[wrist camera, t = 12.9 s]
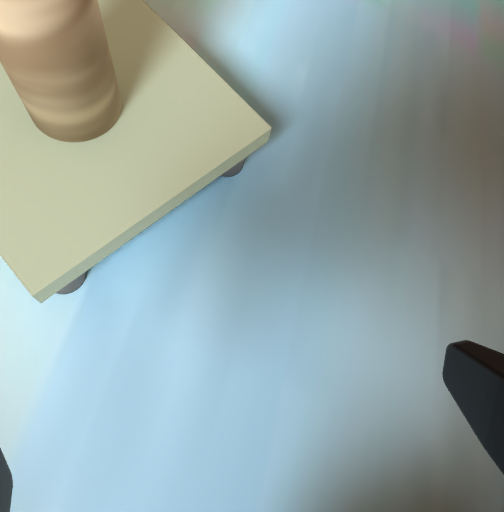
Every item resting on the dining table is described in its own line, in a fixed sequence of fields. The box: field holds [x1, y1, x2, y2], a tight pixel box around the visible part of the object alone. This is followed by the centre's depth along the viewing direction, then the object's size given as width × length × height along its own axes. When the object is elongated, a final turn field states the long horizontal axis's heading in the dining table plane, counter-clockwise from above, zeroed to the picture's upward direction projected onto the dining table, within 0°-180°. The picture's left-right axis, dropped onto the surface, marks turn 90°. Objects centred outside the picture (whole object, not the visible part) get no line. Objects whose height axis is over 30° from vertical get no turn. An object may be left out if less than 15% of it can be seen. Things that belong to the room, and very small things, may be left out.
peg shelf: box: [0, 0, 272, 303], centre depth 24 cm, size 14×14×4 cm
